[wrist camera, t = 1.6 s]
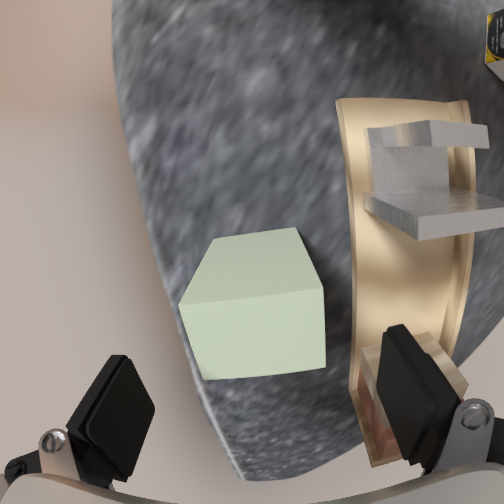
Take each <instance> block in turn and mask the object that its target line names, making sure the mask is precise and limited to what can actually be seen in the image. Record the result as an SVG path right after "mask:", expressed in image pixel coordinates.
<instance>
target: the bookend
mask: <svg viewBox="0 0 504 504" xmlns="http://www.w3.org/2000/svg"><path fill="white" fill-rule="evenodd" d="M364 132H365V139H366V147H367V155H368V164H369V174H370V186H371V192H364V193H362V195H363V208H364V209H365V210H367V211H369V212H371V213H372V214H374V215H376V216H378V217H379V218H381V219H383V220H385V221H386V222H388V223H390V224H391V225H393V226H395V227H396V228H398V229H400V230H401V231H403V232H405V233H406V234H408V235H409V236H411V237H413V238H414V239H416V240H417V241H422V240H428V239H435V238H441V237H447V236H453V235H459V234H465V233H471V232H477V231H483V230H489V229H495V228H501V227H504V201H503V200H500V199H497V198H494V197H490V196H487V195H483V194H480V193H476V192H473V191H469V190H466V189H462V188H458V187H454V186H449V169H448V155H447V147H467V148H484V149H489V139H488V130H487V125H480V124H472V123H463V122H453V121H441V120H424V121H417V122H410V123H404V124H398V125H392V126H387V127H375V128H364Z"/></svg>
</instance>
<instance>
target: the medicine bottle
mask: <svg viewBox="0 0 504 504" xmlns="http://www.w3.org/2000/svg"><path fill="white" fill-rule="evenodd" d="M485 64H486V65H487V66H488V67H489V68H490V69H491V70H492V71H493V72H494V73H495V74H496V75H497V76H498V77H499V78H500V79H501V80H502V81H503V82H504V9H502V10H500V11H497V12H495V13H492V14H490V15H488V16H487V37H486V52H485Z"/></svg>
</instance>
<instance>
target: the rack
mask: <svg viewBox="0 0 504 504" xmlns="http://www.w3.org/2000/svg"><path fill="white" fill-rule="evenodd" d="M335 103H336V109H337V114H338V121H339V127H340V133H341V140H342V148H343V155H344V163H345V172H346V181H347V192H348V203H349V216H350V232H351V253H352V338H351V359H350V374H349V387H348V389H349V392H350V396H351V399H352V402H353V405H354V408H355V412H356V415H357V418H358V422H359V425H360V428H361V432H362V435H363V439H364V442H365V446H366V449H367V453H368V456H369V460H370V464H371V467H372V468H373V467H376V466H380V465H384V464H387V463H390V462H393V461H397V460H400V459H403V457H402V455H401V452H400V449H399V447H398V444H397V441H396V439H395V436H394V433H393V431H392V428H391V426H390V423H389V421H388V418H387V416H386V413H385V411H384V408H383V406H382V403H381V401H380V399H379V396H378V394H377V390H376V381H377V375H378V368H379V361H380V353H381V344H382V335H383V332H386V331H387V328H388V327H390V326H394V325H398V324H404V325H405V326H406V328H407V329H408V330H409V332H410V333H411V334H412V336H413V337H414V338H415V340H416V341H417V342H418V344H419V345H420V347H421V348H422V349H423V351H424V352H425V353H428V354H429V355H430V356H431V357H432V358H433V360H434V361H435V362H436V364H437V365H438V367H439V368H440V370H441V371H442V372H443V374H444V375H445V377H446V378H447V380H448V381H449V383H450V384H451V386H452V387H453V389H454V390H455V392H456V393H457V395H458V396H459V398H460V399H461V401H462V402H464V399H463V396H464V394H465V391H466V389H467V387H468V382H467V381H466V380H465V378H464V377H463V376H462V374H461V373H460V371H459V370H458V368H457V367H456V366H455V364H454V363H453V362H452V360H451V357H452V354H453V351H454V347H455V344H456V340H457V336H458V333H459V329H460V325H461V320H462V316H463V312H464V307H465V302H466V297H467V291H468V286H469V279H470V273H471V265H472V257H473V248H474V237H475V232H471V233H465V234H459V235H453V236H447V237H441V238H435V239H428V240H422V241H417V240H416V239H414V238H413V237H411V236H409V235H408V234H406V233H405V232H403V231H401V230H400V229H398V228H396V227H395V226H393V225H391V224H390V223H388V222H386V221H385V220H383V219H381V218H379V217H378V216H376V215H374V214H372V213H371V212H369V211H367V210H365V209H364V208H363V195H362V193H364V192H371V186H370V174H369V164H368V155H367V147H366V139H365V132H364V128H375V127H387V126H392V125H398V124H404V123H410V122H417V121H424V120H441V121H453V122H463V123H471V117H470V111H469V105H468V101H464V100H460V101H454V102H449V103H445V102H436V101H426V100H413V99H395V98H340V99H338V100H337V101H336V102H335ZM447 155H448V169H449V186H454V187H458V188H462V189H466V190H469V191H473V192H476V168H475V152H474V148H467V147H447Z"/></svg>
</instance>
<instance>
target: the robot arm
mask: <svg viewBox="0 0 504 504" xmlns="http://www.w3.org/2000/svg"><path fill="white" fill-rule="evenodd" d="M376 390H377V394H378V396H379V399H380V401H381V403H382V406H383V408H384V411H385V413H386V416H387V418H388V421H389V423H390V426H391V428H392V431H393V433H394V436H395V439H396V441H397V444H398V447H399V449H400V452H401V455H402V457H403V459H404V460H408V461H409V463H410V466H412V465H414V464H417V463H421V466H422V468H424V470H423V472H422V474H421V476H420V477H419V478H416V479H412V480H409V481H406V482H403V483H400V484H397V485H394V486H390V487H387V488H384V489H380V490H376V491H372V492H368V493H364V494H360V495H355V496H351V497H346V498H341V499H336V500H331V501H325V502H319V503H312V504H504V419H501V418H496V417H494V411H493V408H492V407H491V406H490V404H489V403H487V402H486V401H484V400H481V399H473V398H472V399H468V400H466V401H464V402H462V401H461V399H460V398H459V396H458V395H457V393H456V392H455V390H454V389H453V387H452V386H451V384H450V383H449V381H448V380H447V378H446V377H445V375H444V374H443V372H442V371H441V370H440V368H439V367H438V365H437V364H436V362H435V361H434V360H433V358H432V357H431V356H430V355H429V354H428V353H425V352H424V351H423V349H422V348H421V347H420V345H419V344H418V342H417V341H416V340H415V338H414V337H413V336H412V334H411V333H410V332H409V330H408V329H407V328H406V326H405V325H404V324H398V325H394V326H390V327H388V328H387V331H386V332H383V335H382V344H381V353H380V361H379V368H378V375H377V381H376ZM154 413H155V407H154V404H153V402H152V400H151V398H150V396H149V395H148V393H147V391H146V389H145V387H144V385H143V383H142V381H141V379H140V377H139V375H138V373H137V371H136V369H135V367H134V364H133V362H132V361H131V359H128V357H127V356H126V355H111V356H110V358H109V359H108V360H107V362H106V364H105V365H104V367H103V368H102V369H101V371H100V372H99V374H98V376H97V377H96V379H95V380H94V382H93V383H92V385H91V387H90V388H89V389H88V391H87V392H86V394H85V396H84V397H83V399H82V401H81V402H80V404H79V405H78V407H77V408H76V410H75V412H74V413H73V415H72V416H71V418H70V420H69V421H68V423H67V425H66V428H67V429H68V432H67V433H66V432H65V431H64V430H61V429H51V430H49V431H47V432H46V433H45V434H43V436H42V437H41V438H40V441H39V446H38V448H39V450H36V451H34V452H31V453H28V454H26V455H23V456H20V457H18V458H15V459H13V460H11V461H10V462H9V463H8V464H7V466H6V468H5V471H4V472H5V474H4V475H5V476H4V475H3V474H1V475H0V504H176V503H169V502H162V501H157V500H151V499H146V498H141V497H136V496H132V495H128V494H124V493H120V492H116V491H115V489H114V487H113V485H112V480H113V479H114V480H118V481H122V482H127V479H128V477H130V476H131V475H132V473H133V470H134V467H135V465H136V462H137V459H138V457H139V454H140V451H141V448H142V445H143V443H144V440H145V437H146V434H147V432H148V429H149V426H150V424H151V421H152V418H153V416H154Z"/></svg>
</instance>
